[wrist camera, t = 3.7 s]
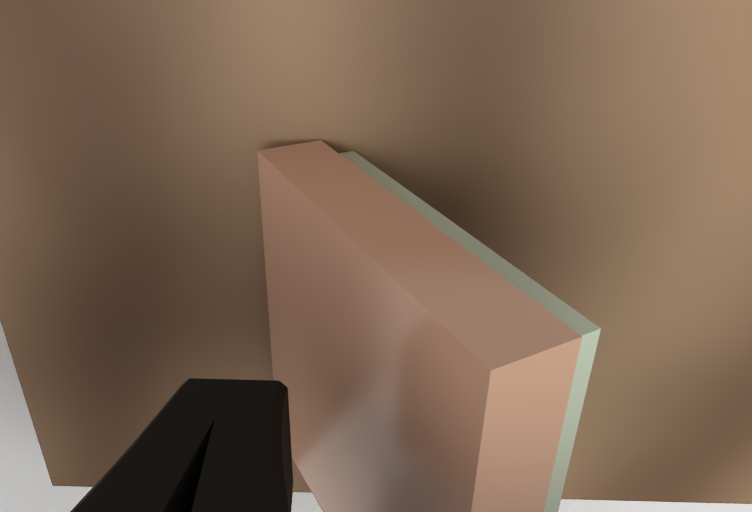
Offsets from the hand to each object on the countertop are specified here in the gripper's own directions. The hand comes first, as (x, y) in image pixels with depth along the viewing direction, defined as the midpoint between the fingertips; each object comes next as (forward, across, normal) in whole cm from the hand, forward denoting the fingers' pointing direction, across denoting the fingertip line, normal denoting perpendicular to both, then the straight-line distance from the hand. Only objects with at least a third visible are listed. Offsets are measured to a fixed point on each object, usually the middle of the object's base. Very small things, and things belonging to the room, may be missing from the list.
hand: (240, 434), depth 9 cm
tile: (+3, -1, 0) cm, 4 cm away
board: (+5, -3, 0) cm, 6 cm away
